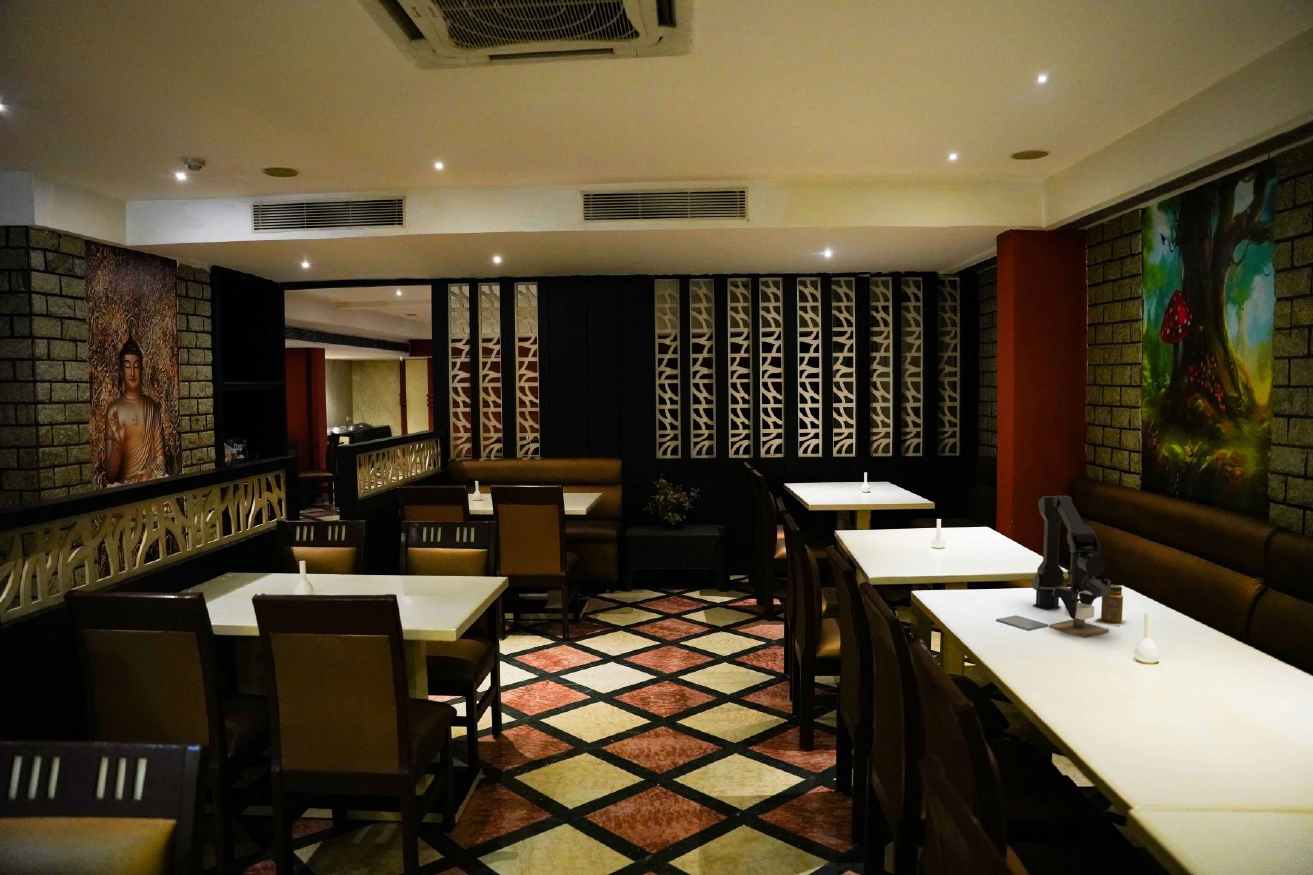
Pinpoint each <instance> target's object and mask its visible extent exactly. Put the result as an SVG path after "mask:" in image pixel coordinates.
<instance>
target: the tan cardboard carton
mask: <svg viewBox="0 0 1313 875" xmlns="http://www.w3.org/2000/svg"><path fill="white" fill-rule="evenodd" d="M1064 616H1067V617H1070V615H1069V613H1068V611H1067V608H1066V606H1065V605H1064ZM1075 618H1077V619H1081V620H1084V619H1085V620H1087V619H1092V618H1095V605H1087V604H1083V603H1081V602H1080V601H1079V602H1078V603H1077V608H1076V615H1075Z"/></svg>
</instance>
